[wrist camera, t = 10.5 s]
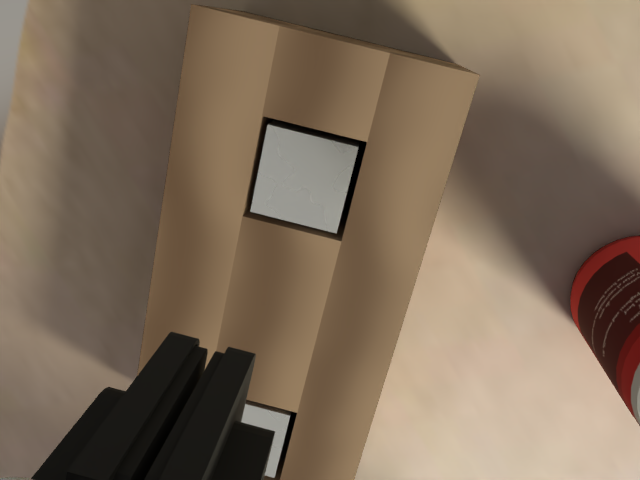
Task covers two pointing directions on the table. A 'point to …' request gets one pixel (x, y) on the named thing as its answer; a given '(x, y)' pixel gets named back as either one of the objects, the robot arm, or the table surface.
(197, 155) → the walnut block
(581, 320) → the canned food
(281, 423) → the pin
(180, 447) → the robot arm
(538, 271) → the table surface
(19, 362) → the table surface
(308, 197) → the pin
